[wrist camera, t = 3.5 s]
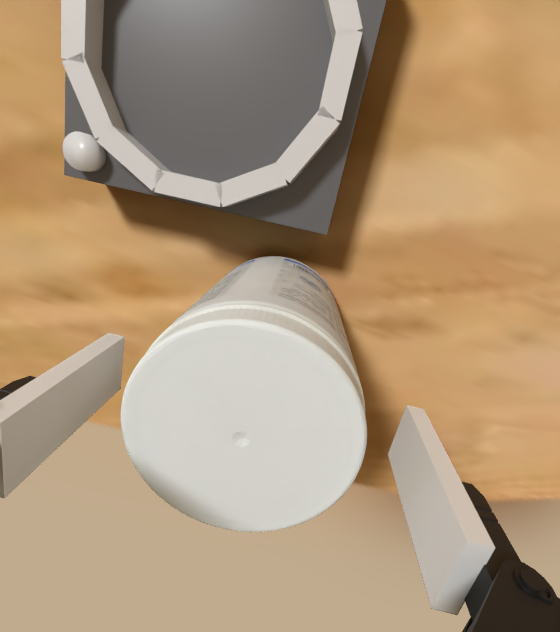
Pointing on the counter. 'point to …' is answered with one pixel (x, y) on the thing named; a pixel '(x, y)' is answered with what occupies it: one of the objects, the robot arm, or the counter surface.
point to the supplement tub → (250, 402)
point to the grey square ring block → (218, 100)
